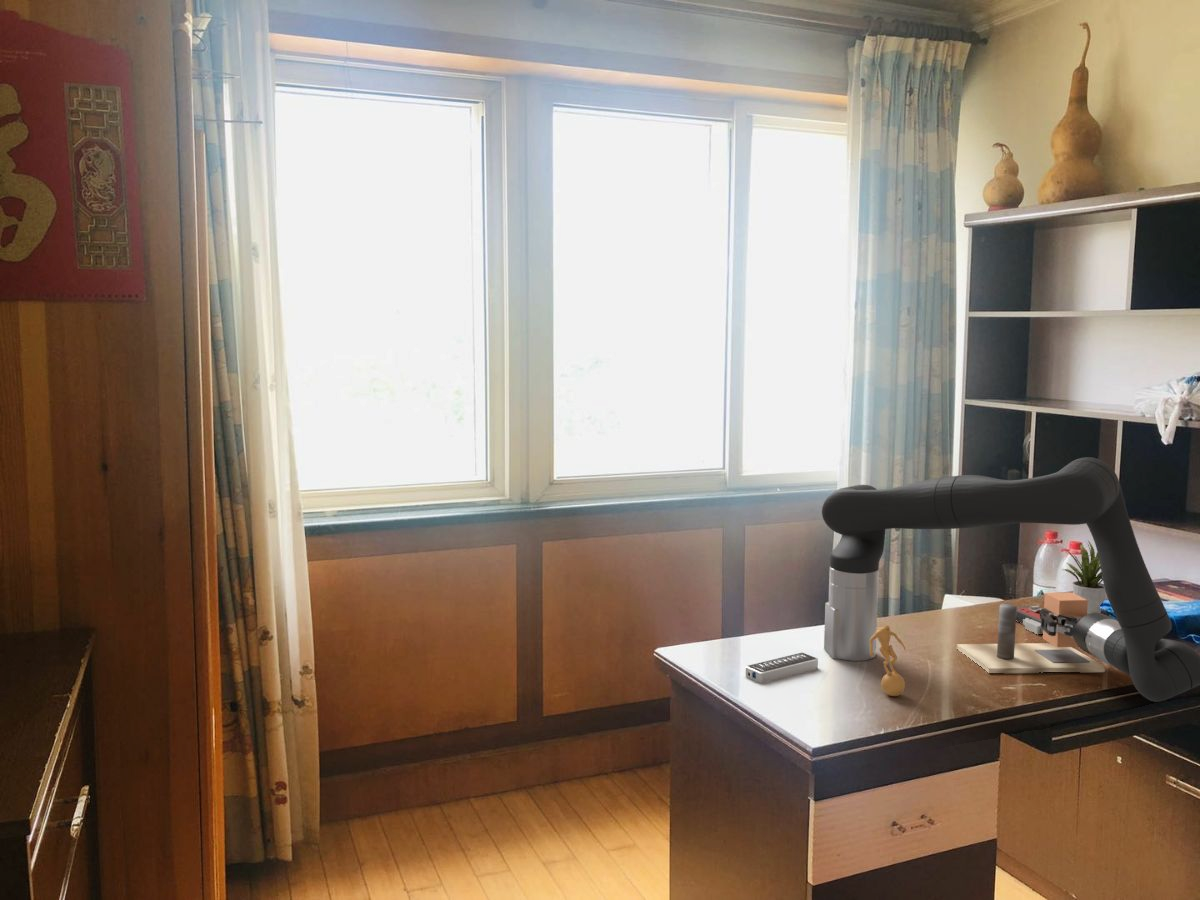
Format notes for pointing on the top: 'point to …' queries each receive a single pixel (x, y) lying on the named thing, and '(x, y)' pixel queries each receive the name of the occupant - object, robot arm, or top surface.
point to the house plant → (1088, 579)
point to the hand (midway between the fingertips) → (1057, 613)
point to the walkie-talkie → (1030, 618)
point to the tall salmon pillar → (1064, 605)
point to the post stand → (1025, 652)
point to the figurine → (891, 681)
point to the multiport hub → (781, 667)
